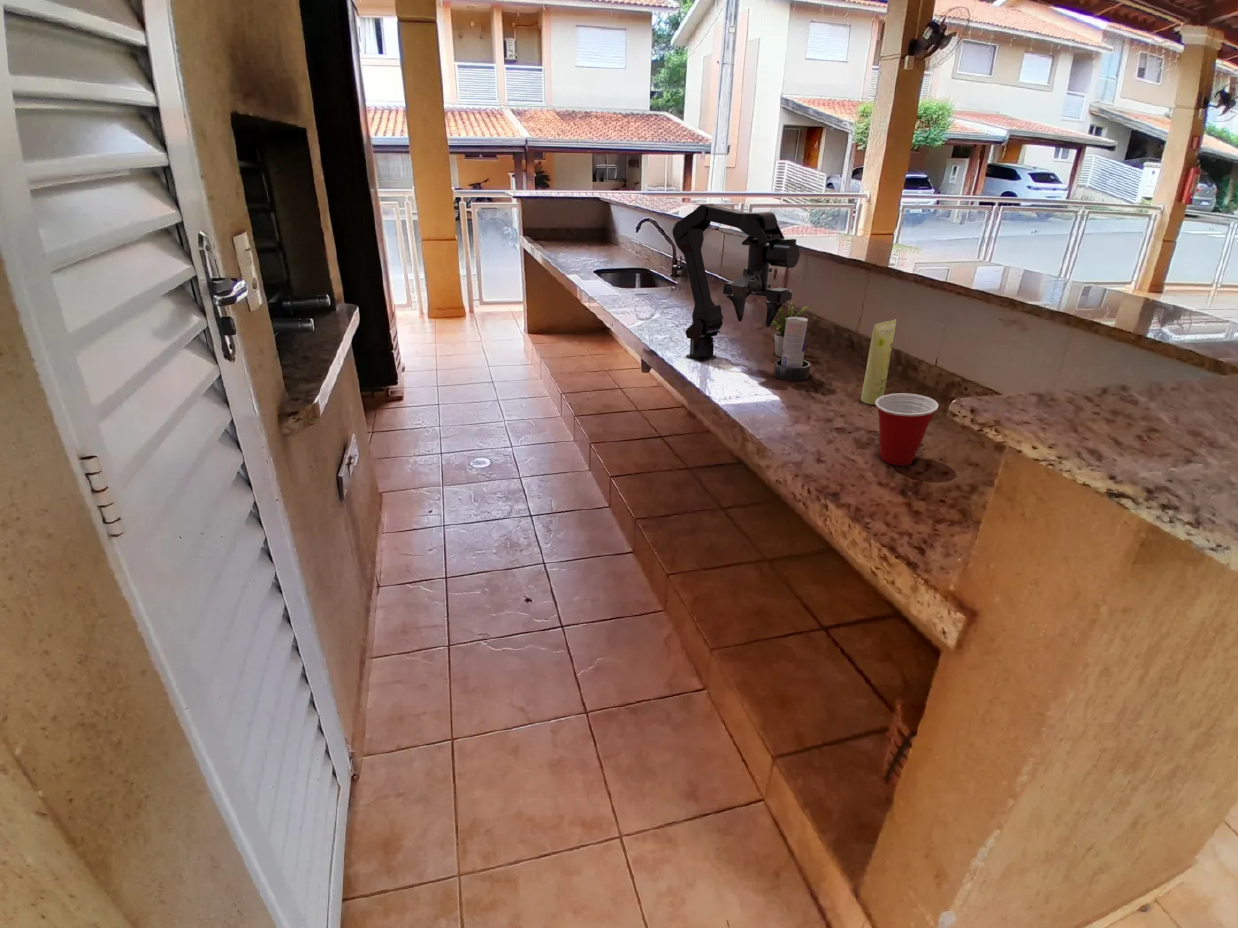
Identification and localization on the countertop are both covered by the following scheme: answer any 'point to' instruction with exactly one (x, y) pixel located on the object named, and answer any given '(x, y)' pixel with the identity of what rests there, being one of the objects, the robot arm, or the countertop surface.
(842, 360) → the countertop surface
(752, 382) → the countertop surface
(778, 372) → the can holder
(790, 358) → the beverage can
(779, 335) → the house plant
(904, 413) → the plastic cup
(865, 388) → the tube
